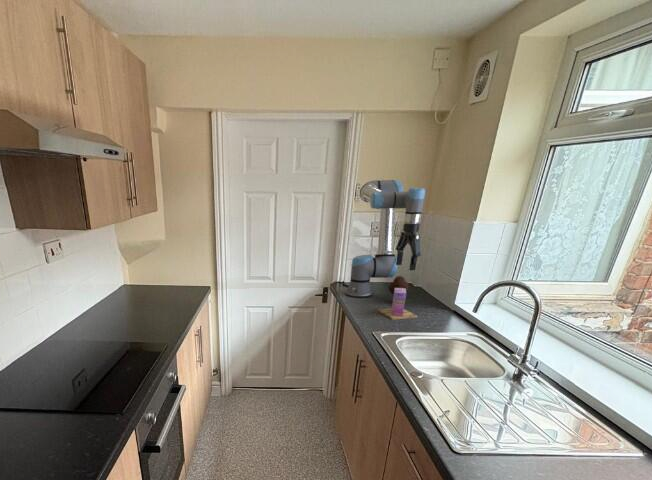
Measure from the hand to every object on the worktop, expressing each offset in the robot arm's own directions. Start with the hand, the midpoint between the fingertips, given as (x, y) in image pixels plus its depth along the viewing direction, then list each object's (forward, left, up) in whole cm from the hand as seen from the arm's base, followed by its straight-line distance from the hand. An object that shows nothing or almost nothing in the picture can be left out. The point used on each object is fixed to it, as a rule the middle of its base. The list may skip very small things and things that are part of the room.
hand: (405, 267), depth 211 cm
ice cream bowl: (-18, +8, -24) cm, 31 cm away
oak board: (+3, -3, -24) cm, 24 cm away
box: (+3, -3, -23) cm, 23 cm away
